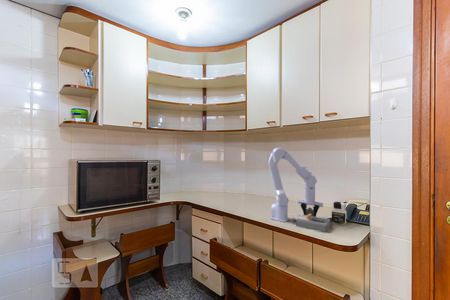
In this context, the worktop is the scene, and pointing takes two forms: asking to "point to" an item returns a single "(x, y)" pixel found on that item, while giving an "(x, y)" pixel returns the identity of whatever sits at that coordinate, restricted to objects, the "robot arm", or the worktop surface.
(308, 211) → the plug
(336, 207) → the medicine bottle
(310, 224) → the socket
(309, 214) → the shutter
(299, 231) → the worktop surface
